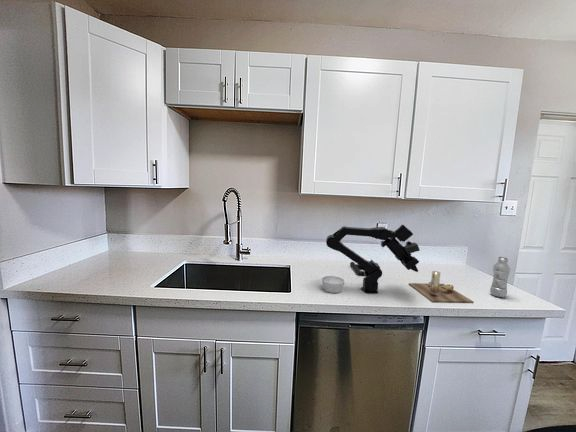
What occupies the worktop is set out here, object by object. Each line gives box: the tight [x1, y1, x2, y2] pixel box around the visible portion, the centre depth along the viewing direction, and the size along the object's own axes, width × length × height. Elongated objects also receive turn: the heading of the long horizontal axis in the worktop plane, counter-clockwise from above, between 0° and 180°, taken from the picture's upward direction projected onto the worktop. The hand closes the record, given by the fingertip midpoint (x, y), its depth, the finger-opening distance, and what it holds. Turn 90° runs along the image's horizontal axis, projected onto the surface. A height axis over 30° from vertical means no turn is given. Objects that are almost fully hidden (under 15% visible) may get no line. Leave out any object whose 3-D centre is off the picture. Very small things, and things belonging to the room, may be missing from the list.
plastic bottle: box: [489, 256, 511, 299], centre depth 123 cm, size 6×7×20 cm
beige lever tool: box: [427, 270, 441, 295], centre depth 126 cm, size 16×4×11 cm, turn 152°
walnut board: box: [408, 282, 475, 304], centre depth 126 cm, size 20×21×1 cm
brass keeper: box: [441, 284, 455, 293], centre depth 125 cm, size 7×3×3 cm, turn 117°
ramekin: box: [321, 275, 345, 294], centre depth 125 cm, size 11×11×5 cm
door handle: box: [349, 261, 366, 277], centre depth 156 cm, size 3×20×16 cm
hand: (417, 271), depth 121 cm, fingers closed
